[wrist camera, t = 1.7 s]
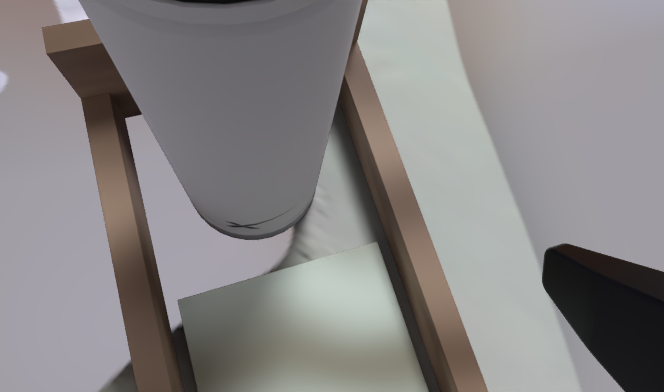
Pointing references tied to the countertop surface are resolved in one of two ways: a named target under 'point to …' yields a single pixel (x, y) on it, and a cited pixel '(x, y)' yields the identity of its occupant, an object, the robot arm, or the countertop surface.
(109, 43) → the travel mug
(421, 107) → the countertop surface
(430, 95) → the countertop surface
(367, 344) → the shelf lane
